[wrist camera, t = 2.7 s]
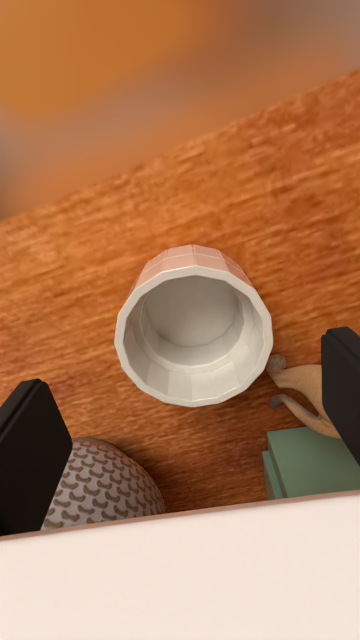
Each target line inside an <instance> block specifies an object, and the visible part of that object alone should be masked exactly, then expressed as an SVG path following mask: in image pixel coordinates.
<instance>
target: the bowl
mask: <svg viewBox="0 0 360 640" xmlns="http://www.w3.org/2000/svg"><path fill="white" fill-rule="evenodd" d="M114 344H115V347H116V351H117V354H118V357H119V360H120V363H121V366H122V369H123V370H124V371H125V373H126V374H127V375H128V376H129V377H130V378H131V380H132V381H133V382H134V383H135V384H136V385H137V387H138V388H139V389H140V390H142V391H144V392H145V393H147V394H149V395H151V396H153V397H155V398H156V399H158V400H160V401H162V402H165V403H169V404H174V405H180V406H186V407H199V406H206V405H212V404H219V403H222V402H224V401H226V400H228V399H230V398H232V397H233V396H235V395H237V394H239V393H241V392H243V391H245V390H246V389H247V388H248V387H249V386H250V385H251V384H252V383H253V382H254V380H255V379H256V378H257V377H258V376H259V375H260V374H261V373H262V372H263V370H264V369H265V366H266V363H267V361H268V358H269V355H270V352H271V350H272V347H273V332H272V319H271V315H270V313H269V312H268V310H267V308H266V306H265V305H264V303H263V301H262V300H261V298H260V296H259V295H258V293H257V291H256V290H255V288H254V287H253V285H252V284H251V282H250V281H249V279H248V278H247V276H246V275H245V273H244V272H243V270H242V269H241V267H240V266H239V265H238V264H237V263H236V262H235V261H234V260H232V259H231V258H229V257H228V256H226V255H225V254H224V253H222V252H221V251H219V250H217V249H213V248H208V247H203V246H199V245H186V246H181V247H176V248H171V249H168V250H165V251H164V252H162V253H161V254H159V255H158V256H156V257H155V258H153V259H152V260H150V261H149V262H147V264H145V266H144V267H143V269H142V270H141V272H140V273H139V275H138V277H137V278H136V280H135V281H134V283H133V285H132V287H131V289H130V291H129V293H128V295H127V297H126V299H125V301H124V303H123V305H122V307H121V310H120V312H119V314H118V317H117V324H116V332H115V339H114Z"/></svg>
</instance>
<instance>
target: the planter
mask: <svg viewBox="0 0 360 640" xmlns="http://www.w3.org/2000/svg"><path fill="white" fill-rule="evenodd" d="M72 443H73V448H72V452H71V454H70V457H69V459H68V462H67V464H66V467H65V469H64V472H63V474H62V477H61V480H60V482H59V485H58V487H57V490H56V492H55V495H54V497H53V500H52V502H51V505H50V507H49V510H48V512H47V515H46V517H45V520H44V522H43V525H42V527H41V530H40V531H42V530H49V529H56V528H63V527H70V526H78V525H85V524H92V523H99V522H107V521H114V520H121V519H129V518H136V517H144V516H152V515H159V514H167V511H166V507H165V504H164V500H163V498H162V495H161V493H160V491H159V489H158V487H157V485H156V483H155V482H154V481H153V479H152V478H151V477H150V476H149V474H148V473H147V472H146V471H145V470H144V469H143V468H142V467H141V466H140V465H139V464H138V463H137V462H135V461H134V460H132V459H131V458H129V457H128V456H126V454H124V453H123V452H122V451H121V450H120V449H118V448H117V447H115V446H114V445H112V444H110V443H108V442H105V441H102V440H98V439H94V438H72Z"/></svg>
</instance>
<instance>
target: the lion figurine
mask: <svg viewBox="0 0 360 640" xmlns="http://www.w3.org/2000/svg"><path fill="white" fill-rule="evenodd" d="M265 367H266V371H267V373H268V375H269V376H270V377H271V379H272V380H273V381H274V383H275V384H276V385H277V386H278V387H279V388H292V389H295V390H297V391H299V392H301V393H302V394H304V395H305V396H306V397H307V398H308V400H309V401H310V402H311V403H312V405H313V406H314V407H315V409H316V410H317V411H318V413H319V415H318V417H317V416H315V415H313V414H312V413H311V412H309V411H308V410H307V409H305V408H304V407H302V406H301V405H300V404H298V403H297V402H296V401H295V400H294V399H292V398H291V397H289V396H288V395H285V394H276V395H273V396H272V397H271V400H270V402H269V405H270V406H271V407H273V408H277V407H278V406H279V405H280V404H282V403H284V404H285V405H286V406H287V407H288V408H289V410H290V411H291V412H292V413H293V414H294V415H295V416H296V417H297V418H298V419H299V420H300V421H301V422H303V423H304V424H305V425H306V426H308V427H309V428H311V429H313V430H314V431H316V432H318V433H320V434H322V435H325V436H329V437H333V438H339V439H342V438H341V437H340V435H339V433H338V432H337V430H336V429H335V427H334V426H333V424H332V422H331V421H330V419H329V418H328V416H327V414H326V413H325V411H324V409H323V405H322V373H321V365H304V366H298V367H293V368H290V369H284V368H285V367H286V358H285V357H284V356H281V355H278V354H273V355H271V356H269V358H268V361H267V363H266V366H265ZM283 369H284V370H283Z"/></svg>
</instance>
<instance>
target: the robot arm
mask: <svg viewBox="0 0 360 640" xmlns="http://www.w3.org/2000/svg"><path fill="white" fill-rule="evenodd" d="M321 373H322V405H323V409H324V411H325V413H326V414H327V416H328V418H329V419H330V421H331V422H332V424H333V426H334V427H335V429H336V430H337V432H338V433H339V435H340V437H341V438H342V440H343V441H344V443H345V444H346V446H347V448H348V449H349V451H350V452H351V454H352V455H353V457H354V459H355V460H356V462H357V463H358V465H359V466H360V337H359V336H358V335H357V334H356V333H355V332H353V331H352V330H351V329H350V328H349V327H340V328H334V329H328V330H327V332H326V334H325V335H322V337H321ZM72 448H73V443H72V439H71V436H70V434H69V432H68V430H67V427H66V425H65V423H64V420H63V418H62V416H61V414H60V411H59V409H58V407H57V405H56V402H55V400H54V398H53V395H52V393H51V391H50V389H49V386H48V384H47V383H46V382H42V381H41V380H40V379H33V380H28V381H22V382H20V383H19V385H18V386H17V387H16V388H15V390H14V391H13V392H12V393H11V395H10V396H9V397H8V398H7V400H6V401H5V402H4V404H3V405H2V406H1V407H0V640H360V489H359V490H350V491H341V492H332V493H323V494H315V495H307V496H299V497H291V498H283V499H275V500H267V501H259V502H251V503H244V504H236V505H228V506H220V507H212V508H205V509H197V510H189V511H182V512H174V513H167V514H159V515H152V516H144V517H136V518H129V519H121V520H114V521H107V522H99V523H92V524H85V525H78V526H70V527H63V528H56V529H49V530H42V531H40V530H41V527H42V525H43V522H44V520H45V517H46V515H47V512H48V510H49V507H50V505H51V502H52V500H53V497H54V495H55V492H56V490H57V487H58V485H59V482H60V480H61V477H62V474H63V472H64V469H65V467H66V464H67V462H68V459H69V457H70V454H71V452H72Z"/></svg>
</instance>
